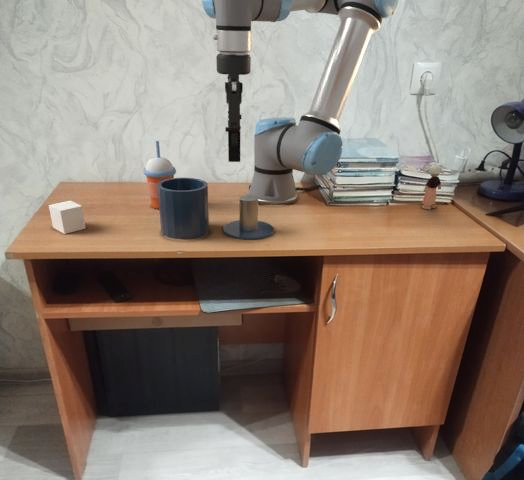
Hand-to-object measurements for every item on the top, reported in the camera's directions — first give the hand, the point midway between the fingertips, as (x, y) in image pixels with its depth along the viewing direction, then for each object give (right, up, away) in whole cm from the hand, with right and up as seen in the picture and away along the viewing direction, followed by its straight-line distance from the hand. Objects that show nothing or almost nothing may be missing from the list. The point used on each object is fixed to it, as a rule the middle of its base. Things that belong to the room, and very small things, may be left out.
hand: (234, 154), depth 125 cm
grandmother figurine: (+57, -4, +33) cm, 66 cm away
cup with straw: (-23, -5, +27) cm, 36 cm away
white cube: (-44, -15, +10) cm, 47 cm away
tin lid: (+3, -16, +11) cm, 19 cm away
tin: (-13, -17, +10) cm, 23 cm away
